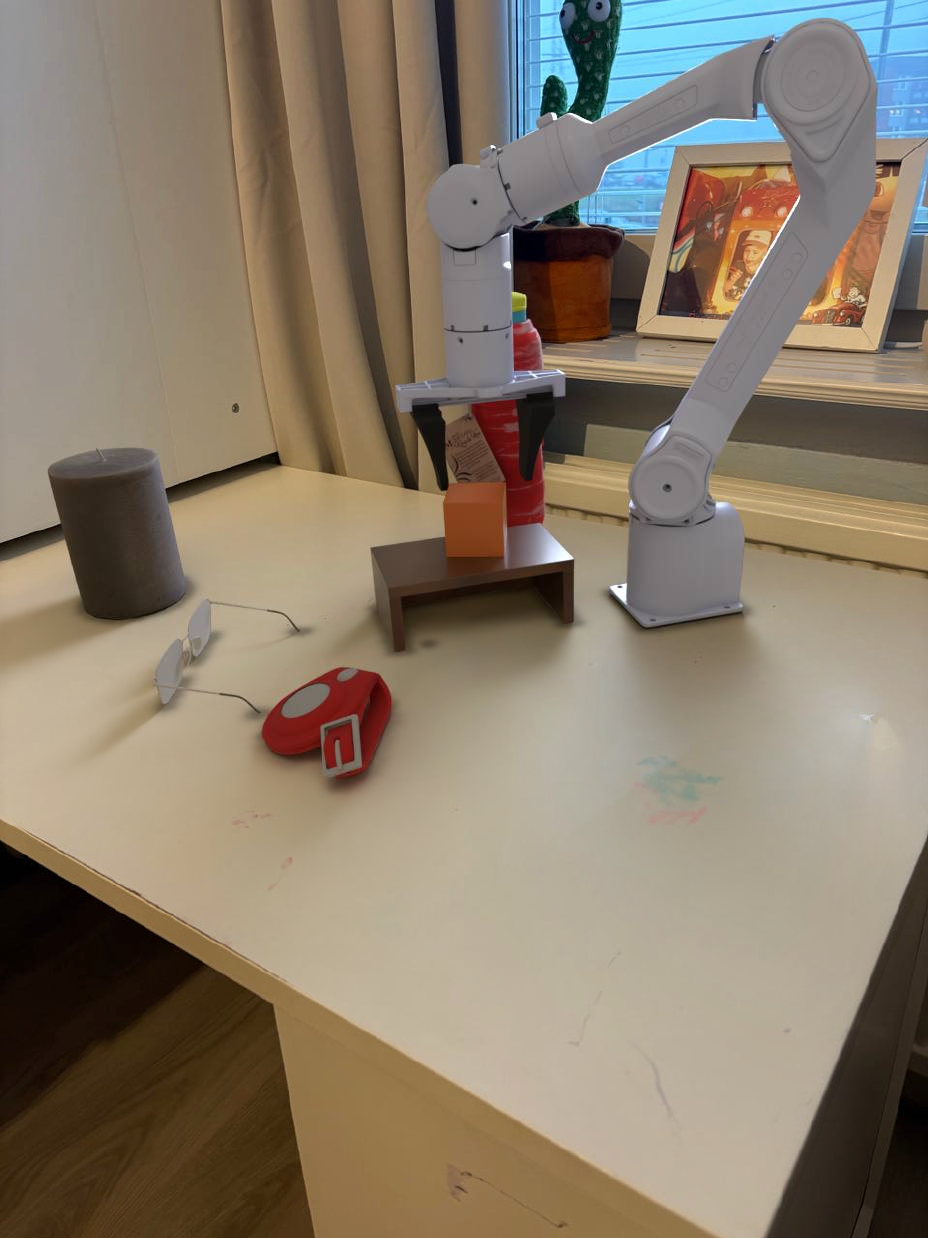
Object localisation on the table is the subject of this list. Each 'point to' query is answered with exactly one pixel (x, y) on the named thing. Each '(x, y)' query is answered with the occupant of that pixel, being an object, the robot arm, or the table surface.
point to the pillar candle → (118, 531)
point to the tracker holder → (332, 720)
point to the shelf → (469, 575)
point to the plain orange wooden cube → (475, 519)
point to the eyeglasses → (173, 658)
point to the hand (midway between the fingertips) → (484, 482)
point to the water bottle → (501, 435)
